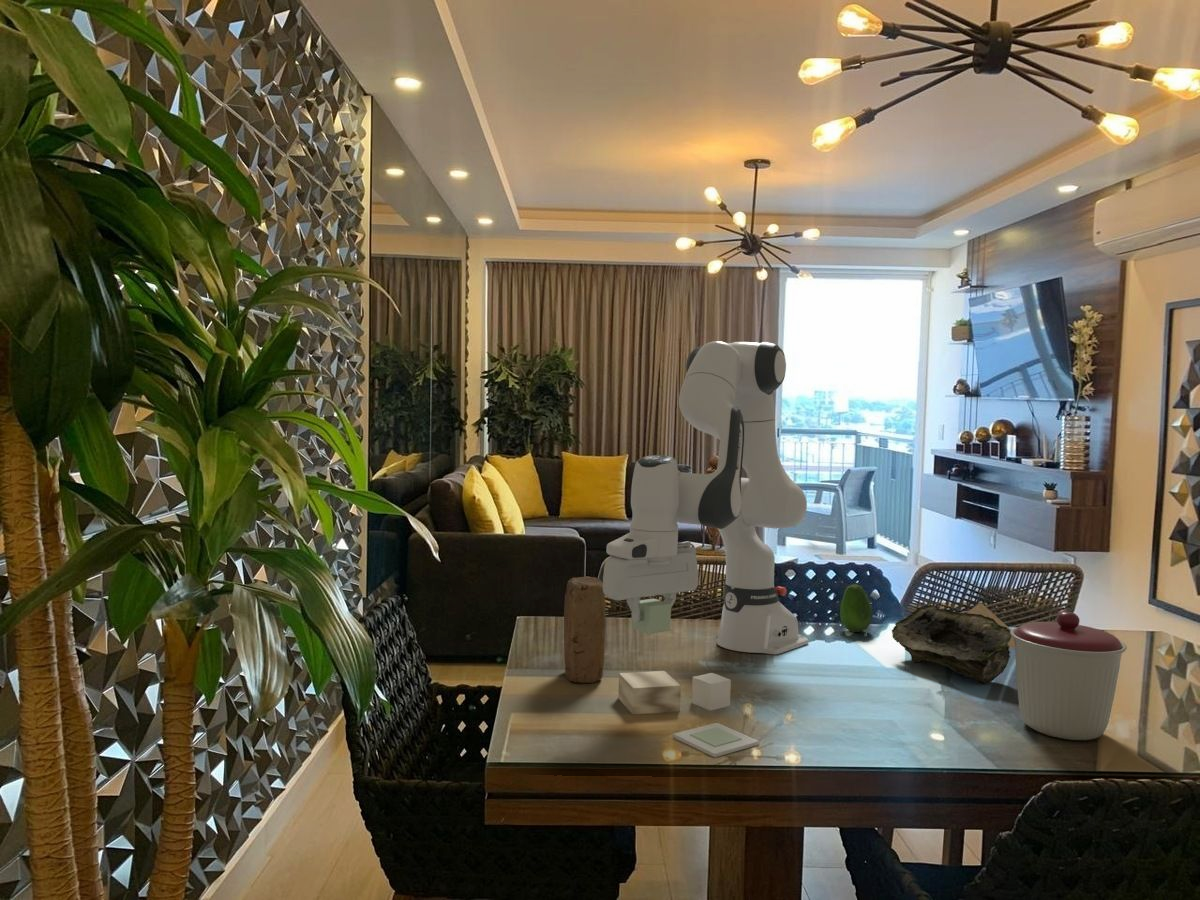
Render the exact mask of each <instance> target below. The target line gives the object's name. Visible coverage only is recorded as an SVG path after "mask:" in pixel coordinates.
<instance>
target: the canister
mask: <svg viewBox="0 0 1200 900" xmlns="http://www.w3.org/2000/svg"><path fill="white" fill-rule="evenodd" d="M1080 622H1081V621H1080V618H1079V616H1078V615H1077V614H1076V613H1075V612H1072V611H1061V612H1060V613H1058V614H1057V616H1056V621H1031V622H1026V623H1023V624H1021V625H1018V627H1014V628H1011V631H1010V634H1011V636H1012V637H1013V638H1014V643H1015V647H1014V658H1015V660H1014V661H1015V673H1016V686H1017V699H1018V707H1019V712H1020V716H1021V718H1022V720H1023V722H1024V723H1025V724H1026V725H1027V726H1028V727H1029V728H1031V730H1032V729H1033V730H1034V731H1036V732H1038V733H1040V734H1043V735H1046V736H1049V737H1053V738H1058V739H1063V740H1068V741H1090V740H1094V739H1097V738H1099V737H1101V736H1102V735H1103V734H1104V733H1105V731H1106V730H1107V728H1108V725H1109V721H1110V717H1111V713H1112V709H1113V705H1114V698H1115V693H1116V688H1117V682H1118V678H1119V671H1120V667H1121V661H1122V656H1123V655H1122V654H1123V653H1125V652H1126V651H1127V649H1128V646H1127V644H1126V643H1125V642H1124V641H1121V640H1120V639H1119V638H1118V637H1116V636H1115V635H1114V634H1111V633H1109V632H1107V631H1104V630H1102V629H1098V628H1096V627H1091V626H1087V625H1081V624H1080Z"/></svg>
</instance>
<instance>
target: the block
mask: <svg viewBox="0 0 1200 900" xmlns="http://www.w3.org/2000/svg"><path fill="white" fill-rule="evenodd" d="M563 609H564V610H563V611H564V612H563V652H564V653H563V655H564V665H565V667H564V673H565V677H566V678H567V679H568V681H570V682H574V683H581V684H589V683H590V684H591V683H595V682H598V681H601V680H602V678H603V677H604V669H605V668H604V666H605V653H606V652H605V651H606V647H605V646H606V645H605V644H606V596H605V594H604V592H603V581H602V580H601V579H600V578H597V577H595V576H579V577H572V578H570V579H569V580H568V581H567V584H566V589H565V595H564V607H563Z"/></svg>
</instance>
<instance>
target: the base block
mask: <svg viewBox="0 0 1200 900" xmlns="http://www.w3.org/2000/svg"><path fill="white" fill-rule="evenodd" d="M681 689H682V685H681V684H680V683H679V682H678V681H676V680H675V678H673V677H672V676H671V675H669V673H668V672H666V671H665V670H656V671H653V670H652V671H637V672H636V671H635V672H618V697H617V698H618V699H619V701H620V702H621V703H622V704H623V705H624V707H626V709H627V710H628V711H629V712H630V713H631V714H632V715H640V714H641V715H643V714H658V713H673V712H681V697H682V696H681V692H682V690H681Z"/></svg>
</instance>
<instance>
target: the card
mask: <svg viewBox="0 0 1200 900" xmlns="http://www.w3.org/2000/svg"><path fill="white" fill-rule="evenodd" d="M672 738H673V739H675V740H677V741H680V742H681V743H684V744H686V745H688V746H690V747H692V748H694V749H697V750H698V751H700V752H702V753H705V754H706V755H709V756H711V757H713V758H717V757H721V756H724V755H728V754H731V753H734V752H735V753H736V752H738V751H742V750H744V749H749V748H753V747H755V746H758V745H760V740H758V739H755V738H753V737H751V736H749V735H746V734H744V733H741V732H740V731H737V730H735V729H732V728H730V727H728V726H726V725H723V724H722V723H718V722H715V723H710V724H706V725H702V726H698V727H694V728H690V729H687V730H682V731H679V732H675V733H673V734H672Z"/></svg>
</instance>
